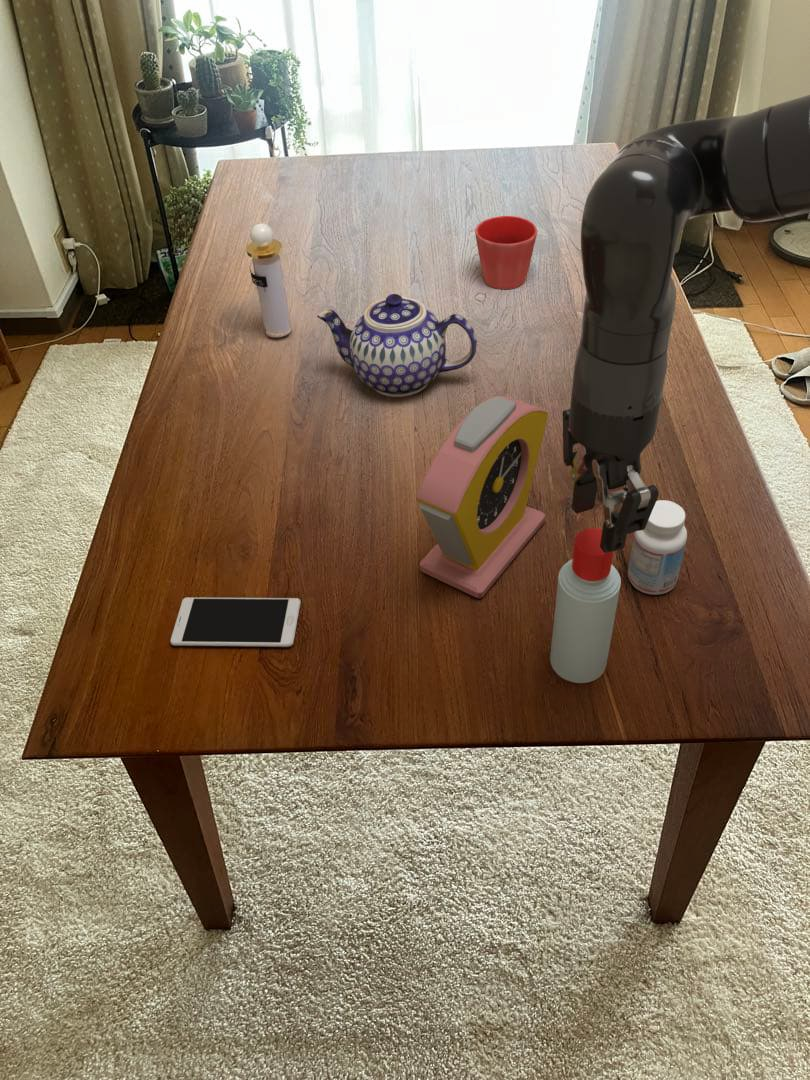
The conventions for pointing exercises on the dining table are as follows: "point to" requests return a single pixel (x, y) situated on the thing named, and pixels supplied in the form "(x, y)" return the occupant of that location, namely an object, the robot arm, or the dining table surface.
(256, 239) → the perfume bottle
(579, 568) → the cap
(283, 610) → the smartphone
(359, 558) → the dining table surface
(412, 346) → the teapot
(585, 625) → the water bottle
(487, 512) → the pink desk clock
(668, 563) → the pill bottle
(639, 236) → the robot arm
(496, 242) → the flower pot
